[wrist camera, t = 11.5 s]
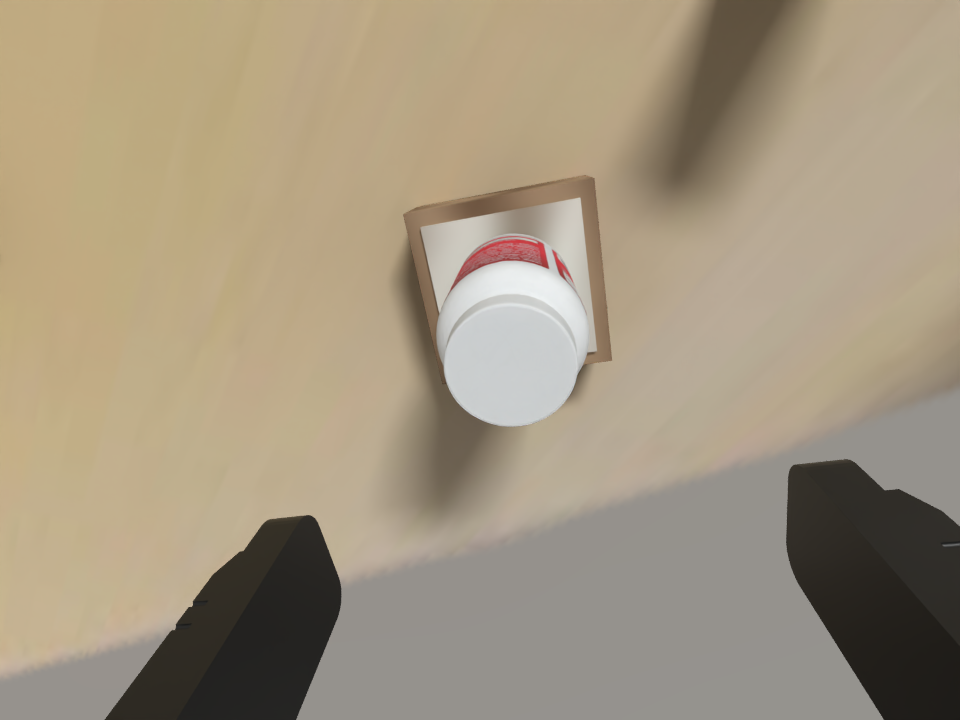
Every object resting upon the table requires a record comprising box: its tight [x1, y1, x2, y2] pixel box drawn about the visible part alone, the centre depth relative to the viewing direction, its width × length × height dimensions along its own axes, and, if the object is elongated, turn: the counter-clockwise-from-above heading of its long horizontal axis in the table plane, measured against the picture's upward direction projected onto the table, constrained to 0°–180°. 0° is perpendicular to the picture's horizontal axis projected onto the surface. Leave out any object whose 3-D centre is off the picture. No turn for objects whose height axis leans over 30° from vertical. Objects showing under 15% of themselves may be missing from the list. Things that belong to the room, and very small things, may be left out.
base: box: [403, 175, 612, 384], centre depth 30 cm, size 10×10×4 cm
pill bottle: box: [436, 234, 589, 427], centre depth 22 cm, size 6×6×11 cm
